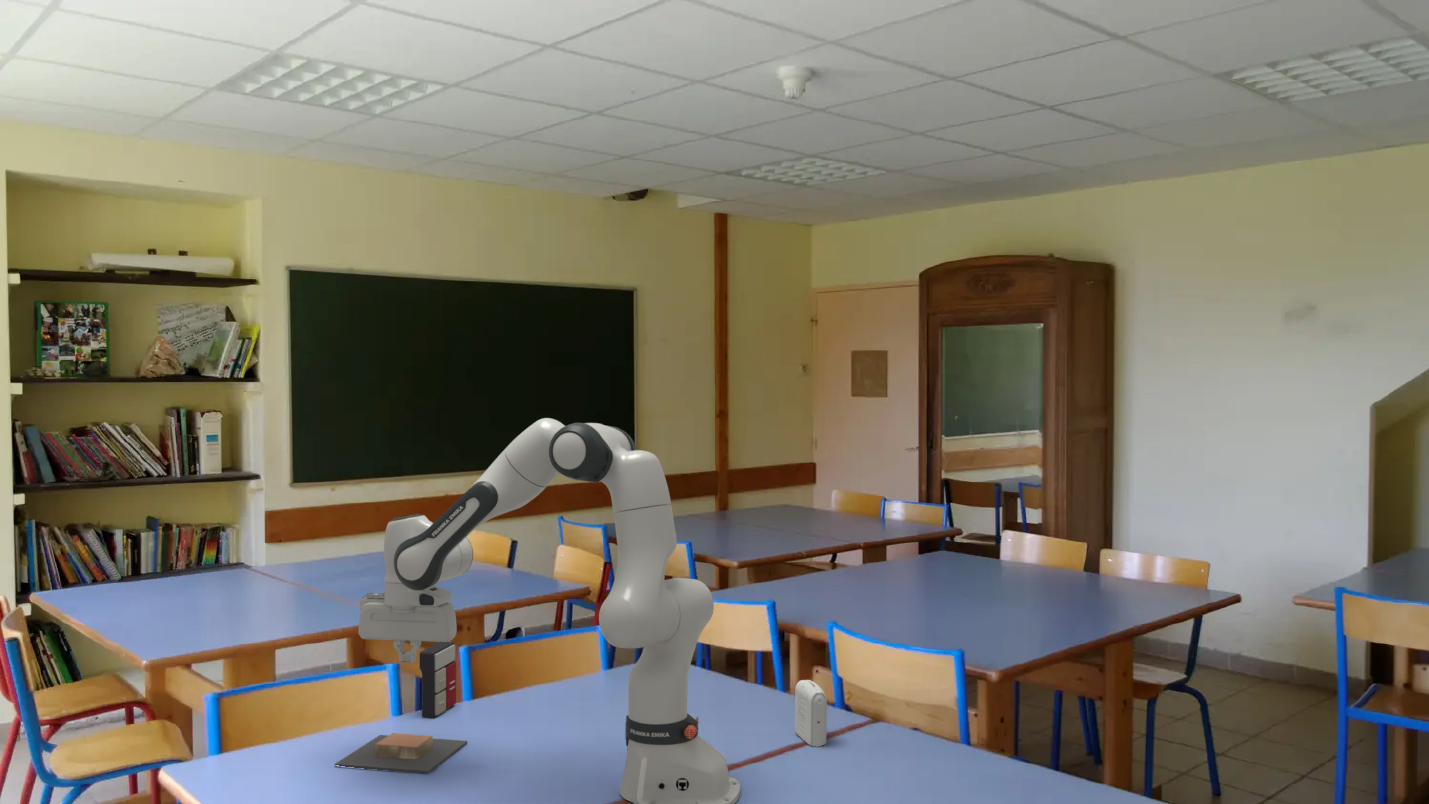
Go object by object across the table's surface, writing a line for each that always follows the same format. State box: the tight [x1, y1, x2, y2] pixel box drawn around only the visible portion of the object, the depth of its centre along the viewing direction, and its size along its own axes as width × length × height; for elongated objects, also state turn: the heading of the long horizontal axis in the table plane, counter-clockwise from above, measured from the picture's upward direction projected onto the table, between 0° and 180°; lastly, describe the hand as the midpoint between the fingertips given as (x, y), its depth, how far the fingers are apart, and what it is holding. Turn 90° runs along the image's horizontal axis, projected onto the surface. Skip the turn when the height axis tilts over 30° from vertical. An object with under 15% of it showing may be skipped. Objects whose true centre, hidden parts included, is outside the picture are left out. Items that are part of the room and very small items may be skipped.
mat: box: [334, 734, 468, 775], centre depth 215 cm, size 20×18×1 cm
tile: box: [375, 732, 434, 759], centre depth 215 cm, size 2×7×9 cm
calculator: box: [419, 641, 457, 719], centre depth 245 cm, size 11×4×15 cm, turn 168°
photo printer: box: [794, 679, 828, 747], centre depth 225 cm, size 10×4×12 cm, turn 17°
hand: (407, 661), depth 214 cm, fingers closed
